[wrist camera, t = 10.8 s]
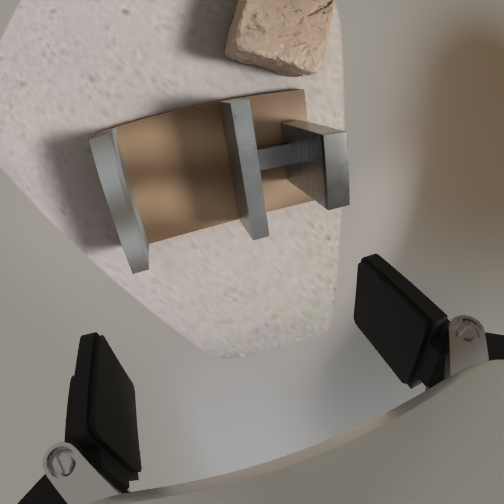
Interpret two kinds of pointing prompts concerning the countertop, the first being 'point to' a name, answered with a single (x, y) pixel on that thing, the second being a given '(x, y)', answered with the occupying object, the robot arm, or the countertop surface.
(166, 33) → the countertop surface
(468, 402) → the robot arm
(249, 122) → the free jaw
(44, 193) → the countertop surface
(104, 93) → the countertop surface
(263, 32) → the brick
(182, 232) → the vise base
